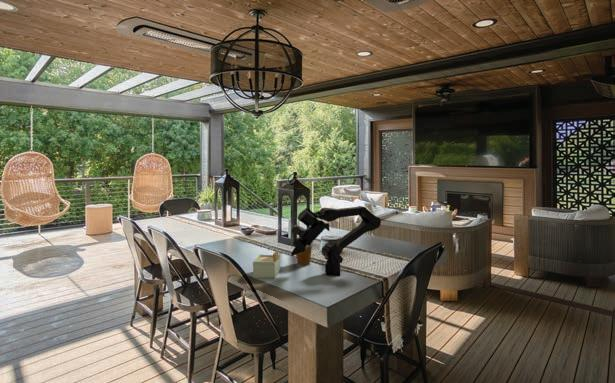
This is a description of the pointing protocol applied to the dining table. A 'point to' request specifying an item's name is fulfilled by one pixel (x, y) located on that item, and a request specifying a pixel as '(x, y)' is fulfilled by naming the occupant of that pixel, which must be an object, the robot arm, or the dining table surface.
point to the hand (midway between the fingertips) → (291, 254)
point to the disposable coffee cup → (304, 256)
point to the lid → (270, 258)
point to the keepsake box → (265, 268)
